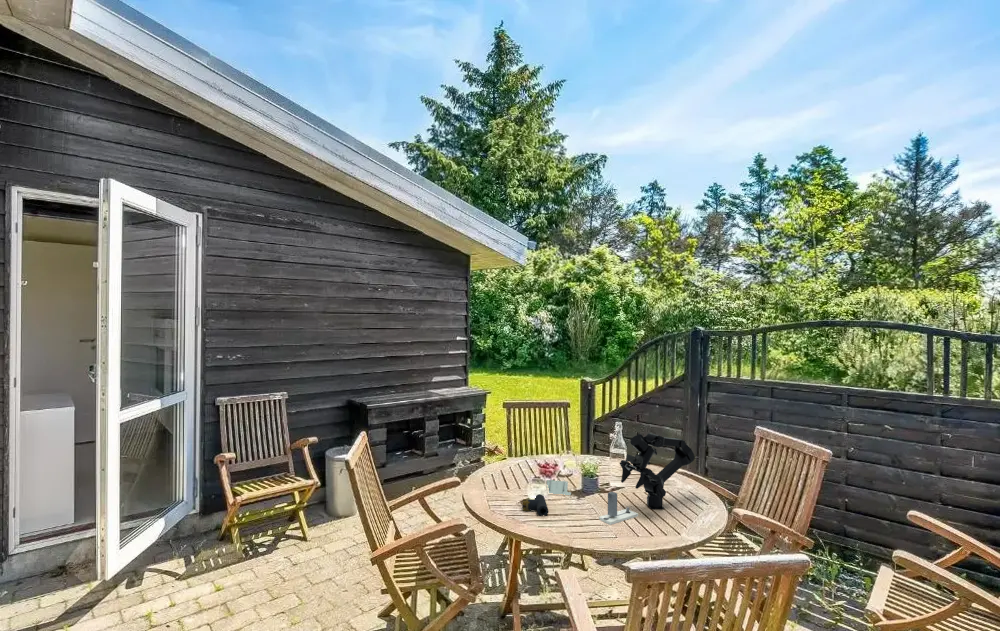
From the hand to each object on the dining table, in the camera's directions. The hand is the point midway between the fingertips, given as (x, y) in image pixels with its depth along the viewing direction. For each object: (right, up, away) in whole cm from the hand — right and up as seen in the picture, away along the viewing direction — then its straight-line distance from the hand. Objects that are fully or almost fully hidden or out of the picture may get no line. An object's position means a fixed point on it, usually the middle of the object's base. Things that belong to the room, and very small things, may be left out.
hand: (628, 485), depth 228 cm
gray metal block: (-9, -12, -7) cm, 17 cm away
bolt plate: (-6, -13, -5) cm, 15 cm away
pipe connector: (-44, -14, +4) cm, 46 cm away
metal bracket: (-30, -14, +30) cm, 45 cm away
